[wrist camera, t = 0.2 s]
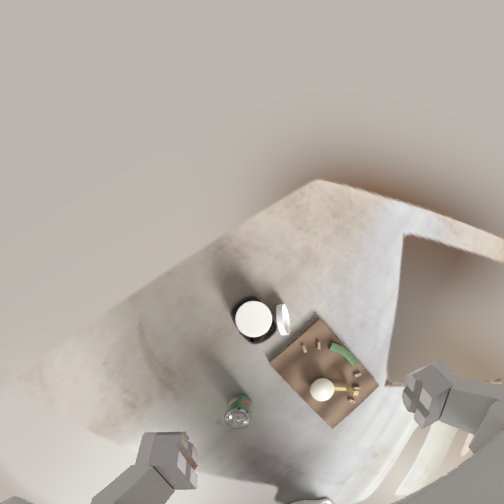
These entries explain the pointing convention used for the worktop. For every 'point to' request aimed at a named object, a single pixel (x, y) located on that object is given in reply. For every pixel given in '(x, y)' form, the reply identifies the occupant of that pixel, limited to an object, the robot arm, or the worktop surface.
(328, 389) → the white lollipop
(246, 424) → the soda can
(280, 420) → the worktop surface
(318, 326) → the gauge board
